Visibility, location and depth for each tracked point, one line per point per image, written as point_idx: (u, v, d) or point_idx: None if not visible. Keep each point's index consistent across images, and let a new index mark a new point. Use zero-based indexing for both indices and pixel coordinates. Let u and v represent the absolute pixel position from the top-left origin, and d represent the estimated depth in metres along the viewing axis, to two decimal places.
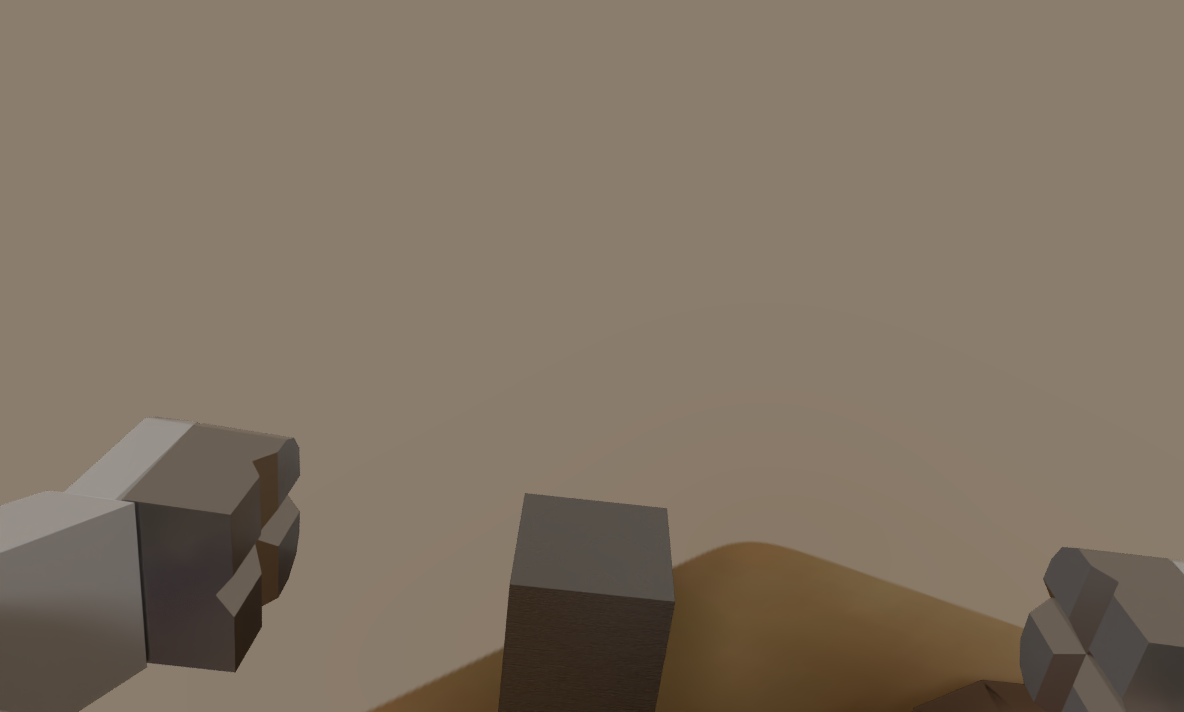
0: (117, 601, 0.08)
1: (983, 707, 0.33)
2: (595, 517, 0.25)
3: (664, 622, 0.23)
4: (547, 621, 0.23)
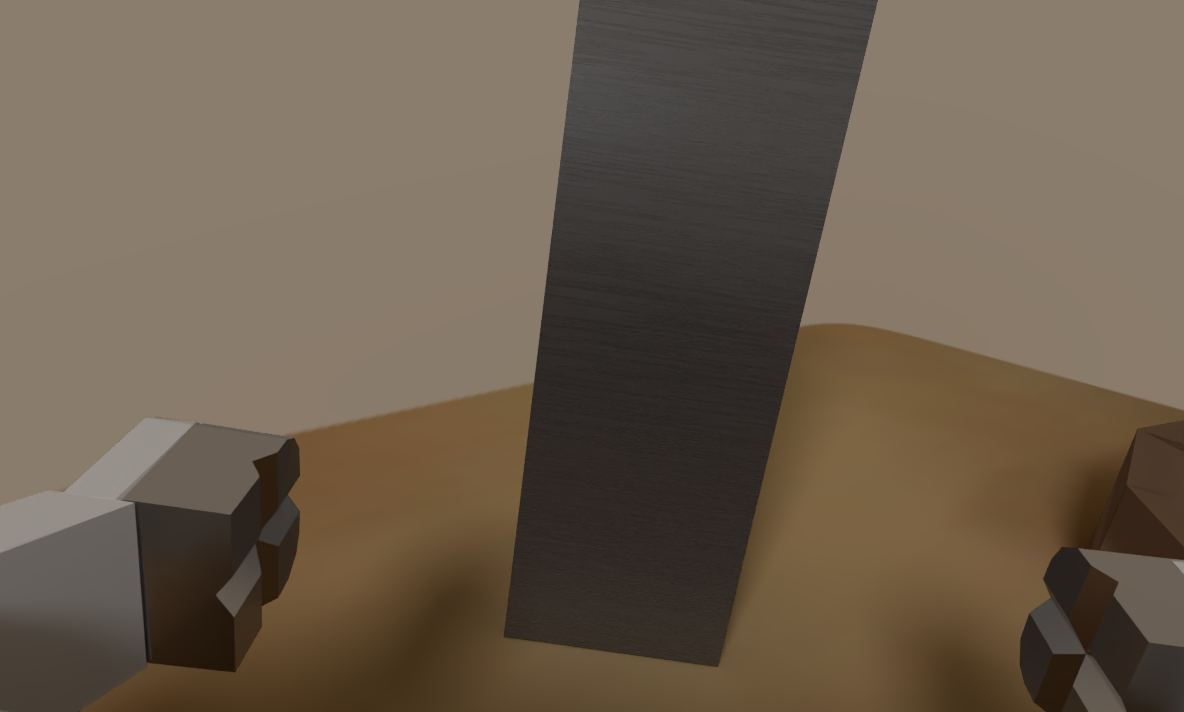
0: (117, 601, 0.08)
1: None
2: None
3: (860, 21, 0.13)
4: (651, 16, 0.13)
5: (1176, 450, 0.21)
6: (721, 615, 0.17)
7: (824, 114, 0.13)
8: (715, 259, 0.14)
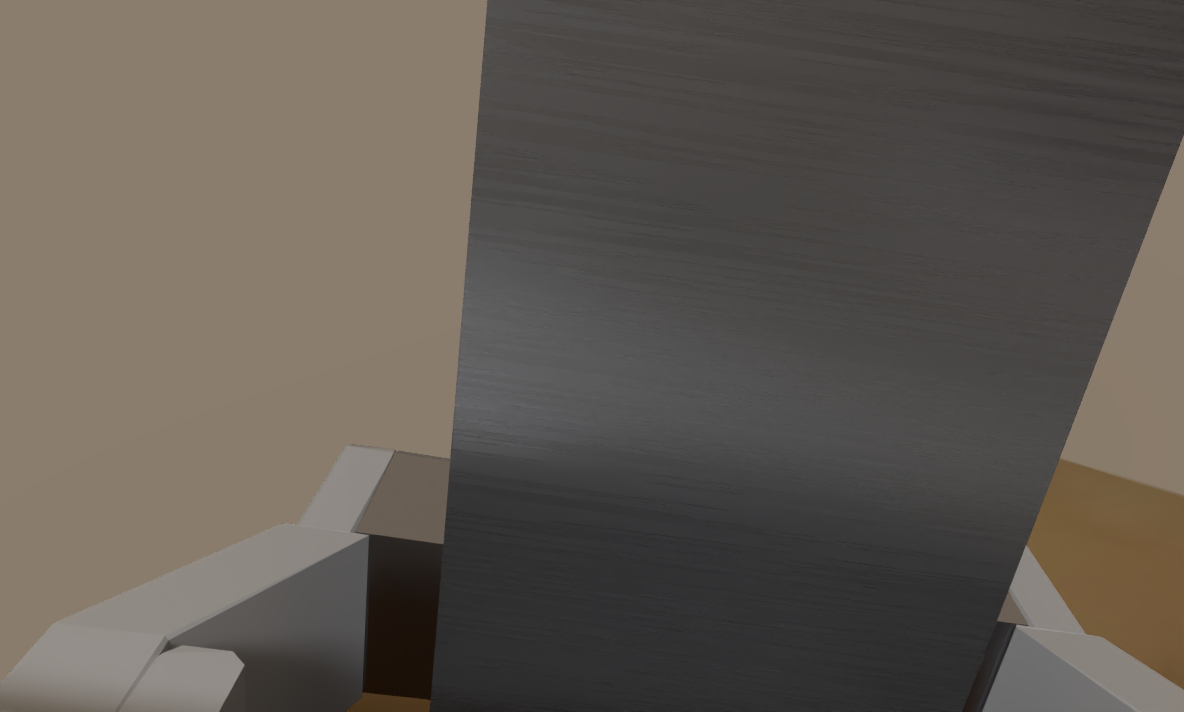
0: (346, 633, 0.08)
1: None
2: None
3: (1161, 110, 0.05)
4: (656, 97, 0.05)
5: None
6: None
7: (1053, 316, 0.06)
8: (791, 594, 0.07)
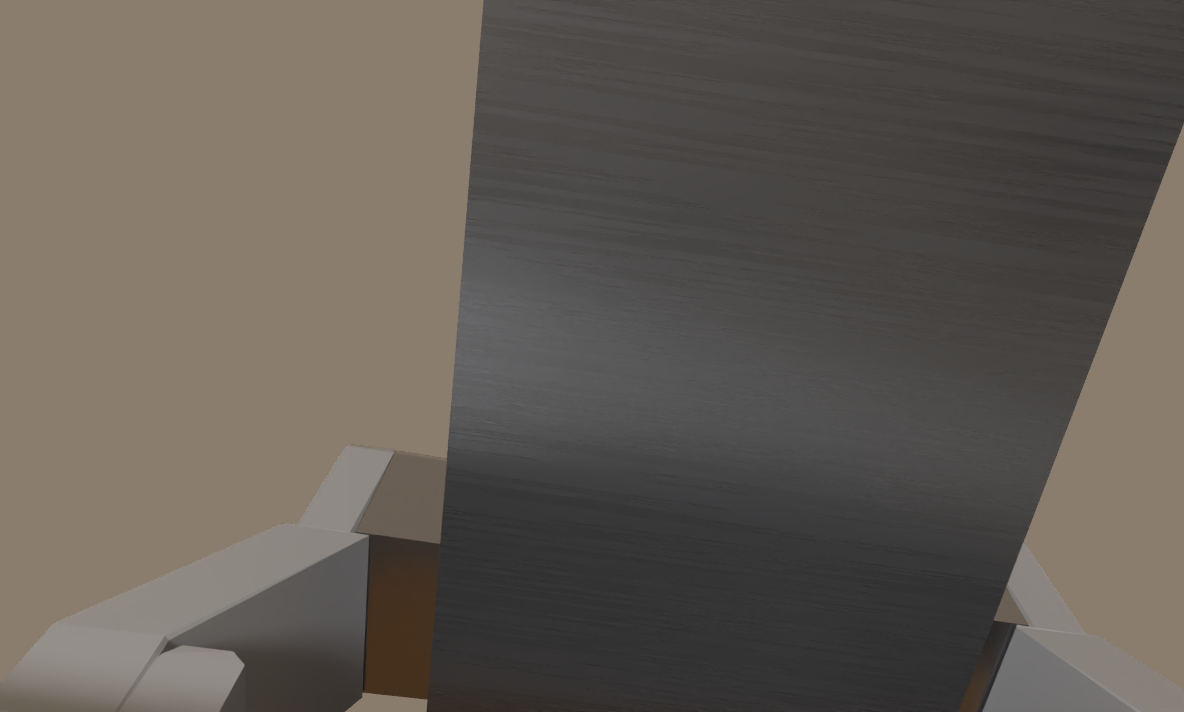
0: (347, 633, 0.08)
1: None
2: None
3: (1157, 109, 0.05)
4: (653, 95, 0.05)
5: None
6: None
7: (1049, 314, 0.06)
8: (788, 594, 0.07)
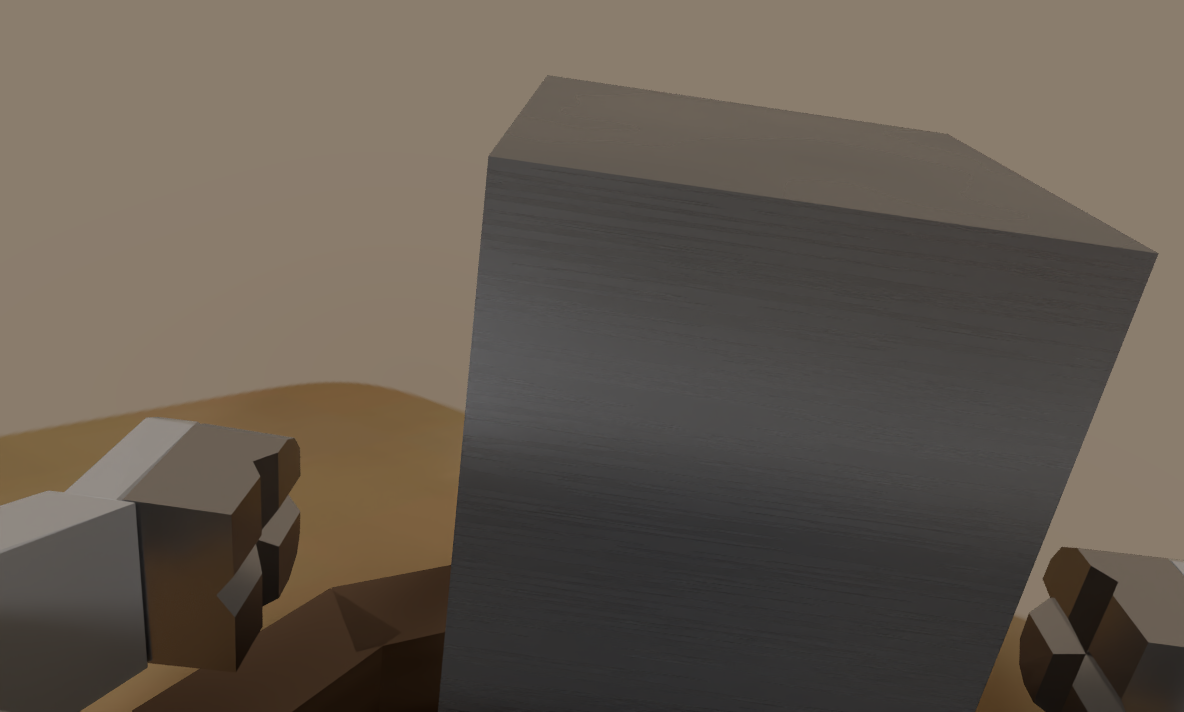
0: (118, 601, 0.08)
1: None
2: (758, 117, 0.08)
3: (1089, 352, 0.06)
4: (633, 335, 0.06)
5: (340, 629, 0.14)
6: None
7: (996, 520, 0.06)
8: None
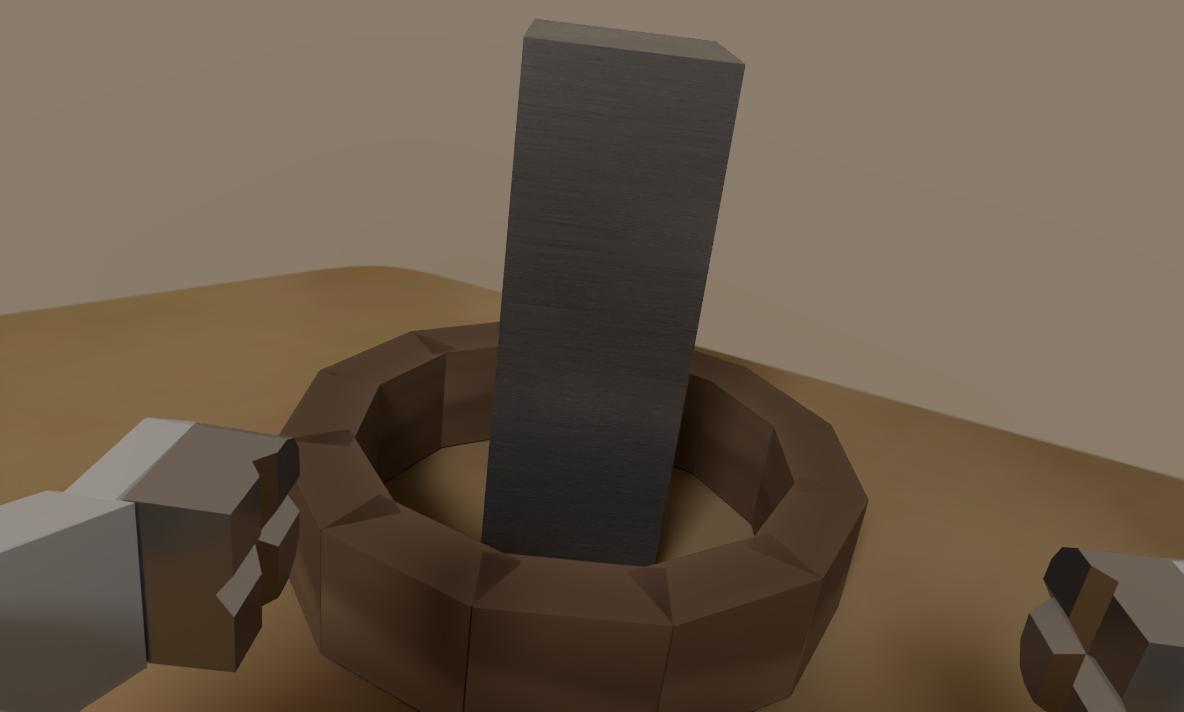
0: (116, 601, 0.08)
1: None
2: (627, 33, 0.19)
3: (729, 101, 0.17)
4: (573, 100, 0.17)
5: (421, 346, 0.25)
6: (649, 554, 0.21)
7: (707, 169, 0.17)
8: (631, 278, 0.18)
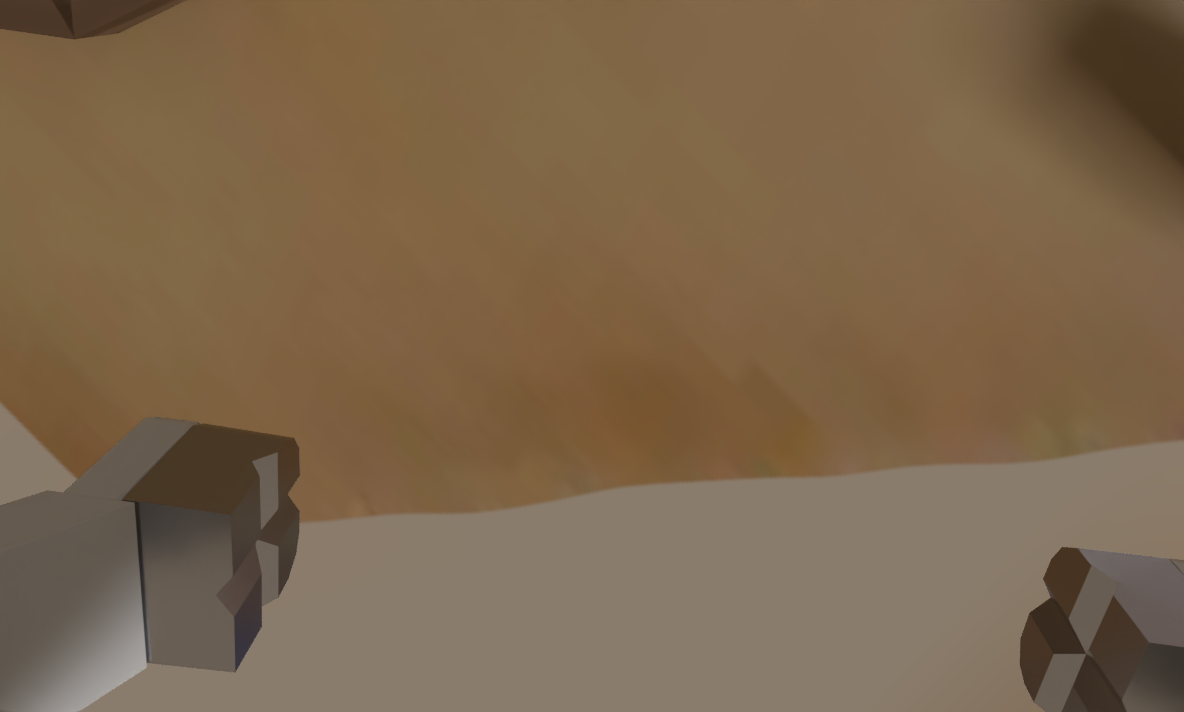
0: (117, 601, 0.08)
1: None
2: None
3: None
4: None
5: None
6: None
7: None
8: None
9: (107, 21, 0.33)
